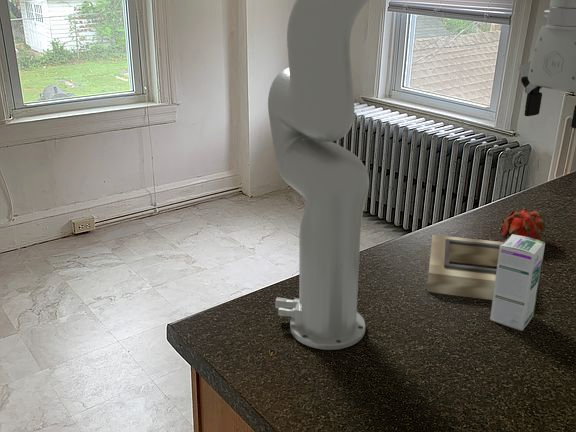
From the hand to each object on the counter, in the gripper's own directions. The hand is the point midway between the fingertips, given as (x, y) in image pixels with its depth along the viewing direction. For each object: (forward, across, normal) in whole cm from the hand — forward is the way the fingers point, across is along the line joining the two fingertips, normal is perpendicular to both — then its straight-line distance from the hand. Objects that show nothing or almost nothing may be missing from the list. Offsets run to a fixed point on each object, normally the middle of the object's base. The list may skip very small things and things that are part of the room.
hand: (554, 121), depth 104 cm
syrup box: (+31, +9, -15) cm, 36 cm away
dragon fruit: (+31, -10, +10) cm, 34 cm away
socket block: (+31, -5, -9) cm, 33 cm away
